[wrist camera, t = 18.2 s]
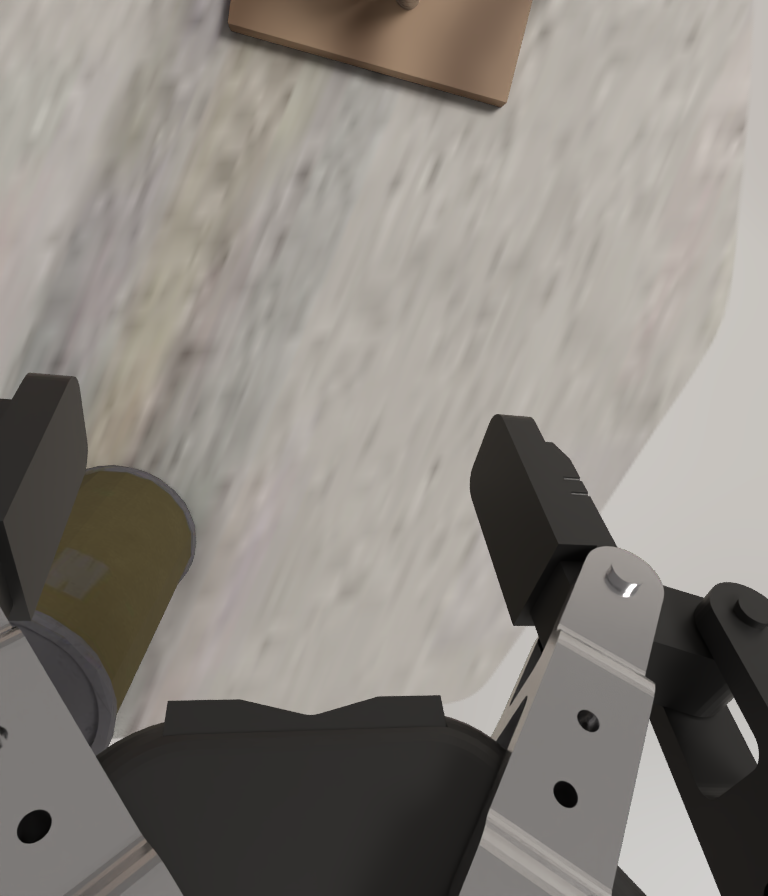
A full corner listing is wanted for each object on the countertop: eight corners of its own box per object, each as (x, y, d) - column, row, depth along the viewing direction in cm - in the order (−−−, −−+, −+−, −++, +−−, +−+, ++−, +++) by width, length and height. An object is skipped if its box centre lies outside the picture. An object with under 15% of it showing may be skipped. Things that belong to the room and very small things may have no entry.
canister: (201, 474, 42) (94, 655, 23) (192, 607, 45) (89, 867, 26) (33, 454, 40) (-231, 630, 21) (34, 594, 43) (-197, 857, 24)
